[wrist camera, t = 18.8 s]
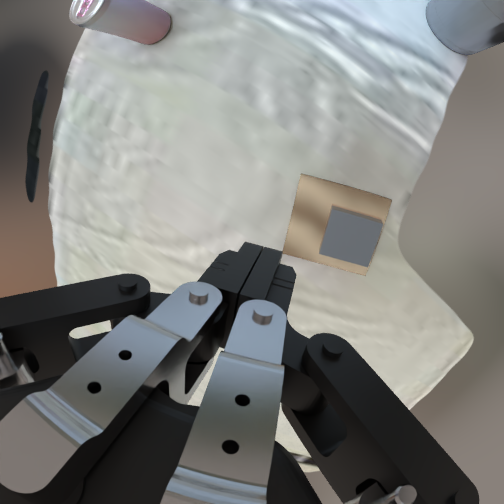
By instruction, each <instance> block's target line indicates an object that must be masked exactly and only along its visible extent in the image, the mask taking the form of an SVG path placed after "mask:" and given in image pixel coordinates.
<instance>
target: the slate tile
mask: <svg viewBox="0 0 504 504" xmlns="http://www.w3.org/2000/svg"><path fill="white" fill-rule="evenodd" d="M382 227H383V222H382V221H381V219H380V218H378V217H374V216H371V215H368V214H365V213H361V212H358V211H354V210H351V209H348V208H344V207H341V206H337V205H334V204H332V205H331V209H330V212H329V216H328V219H327V223H326V226H325V230H324V233H323V237H322V240H321V244H320V248H319V254H321V255H325V256H328V257H332V258H336V259H339V260H343V261H346V262H350V263H354V264H357V265H361V266H364V267H368V266H369V263H370V261H371V258H372V255H373V253H374V250H375V247H376V244H377V242H378V239H379V236H380V233H381V230H382Z"/></svg>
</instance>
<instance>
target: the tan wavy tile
mask: <svg viewBox="0 0 504 504" xmlns="http://www.w3.org/2000/svg"><path fill="white" fill-rule="evenodd" d="M391 202H392V200H391V199H388V198H385V197H382V196H379V195H376V194H372V193H369V192H366V191H362V190H359V189H356V188H352V187H349V186H345V185H342V184H338V183H335V182H331V181H327V180H324V179H320V178H316V177H312V176H308V175H304V174H301V176H300V180H299V184H298V189H297V193H296V198H295V202H294V206H293V210H292V215H291V219H290V223H289V227H288V231H287V236H286V240H285V244H284V248H283V254H287V255H290V256H294V257H298V258H302V259H305V260H309V261H313V262H316V263H320V264H324V265H327V266H331V267H335V268H338V269H342V270H346V271H349V272H353V273H357V274H360V275H364V276H366V273H367V271H368V268H369V266H368V267H364V266H361V265H357V264H354V263H350V262H346V261H343V260H339V259H336V258H332V257H328V256H325V255H321V254H319V248H320V244H321V240H322V237H323V233H324V230H325V226H326V223H327V219H328V216H329V212H330V209H331V205H332V204H334V205H337V206H341V207H344V208H348V209H351V210H354V211H358V212H361V213H365V214H368V215H371V216H374V217H378V218H380V219H381V221H382V222H383V226H384V223H385V220H386V217H387V214H388V211H389V208H390V205H391ZM382 229H383V227H382ZM381 232H382V230H381ZM380 235H381V233H380ZM379 238H380V236H379ZM378 241H379V239H378ZM377 244H378V242H377ZM377 244H376V246H377ZM375 249H376V247H375ZM374 252H375V250H374ZM373 255H374V253H373ZM373 255H372V257H373ZM371 260H372V258H371ZM370 263H371V261H370ZM370 263H369V265H370Z"/></svg>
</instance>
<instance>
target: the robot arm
mask: <svg viewBox="0 0 504 504" xmlns="http://www.w3.org/2000/svg"><path fill="white" fill-rule="evenodd" d="M426 17H427V21H428V23H429V26H430V28H431V29H432V31H433V33H434V34H435V35H436V37H437V38H438V39H439V40H440V41H441V42H442V43H443V44H444V45H446V46H447V47H448V48H450V49H452V50H453V51H455V52H458V53H460V54H465V55H471V54H475V53H478V52H480V51H482V50H485V49H487V48H490V47H493V46H495V45H497V44H500V43H503V42H504V0H431V1H430V2H429V3H428V5H427V8H426ZM282 253H283V252H282V251H278V250H275V249H271V248H267V247H264V249H263V246H259V245H256V244H252V243H248V242H245V243H244V244H243V245H242V247H241V248H240V250H239V251H238V252H235V251H231V250H228V251H226V252H223V253H221V254H219V255H218V257H217V258H216V259H215V260H214V262H213V263H212V264H211V265H210V267H209V268H208V269H207V270H206V271H205V272H204V274H203V275H202V276H201V277H200V279H199V280H198V281H197V282H188V283H185V284H183V285H181V286H179V287H178V288H177V289H176V290H175V291H174V292H173V293H172V294H165V293H156V292H150V283H149V281H148V280H147V279H146V278H144V277H142V276H140V275H136V274H120V275H115V276H110V277H105V278H100V279H95V280H89V281H84V282H79V283H74V284H69V285H64V286H59V287H54V288H49V289H44V290H38V291H33V292H29V293H23V294H18V295H13V296H9V297H4V298H0V504H322V503H321V501H320V499H319V498H318V496H317V494H316V493H315V491H314V489H313V488H312V486H311V484H310V483H309V481H308V479H307V478H306V476H305V474H304V472H303V471H302V469H301V467H300V466H299V464H298V462H297V461H296V460H295V459H294V457H293V456H292V455H291V454H290V453H289V452H288V451H287V450H286V449H285V448H284V447H283V446H282V445H280V444H279V443H278V442H277V441H275V435H276V429H277V422H278V415H279V408H280V402H281V403H282V404H281V406H282V411H283V413H284V414H285V416H286V418H287V419H288V421H289V423H290V424H291V426H292V427H293V429H294V431H295V432H296V434H297V435H298V437H299V438H300V440H301V442H302V443H303V445H304V446H305V448H306V449H307V451H308V452H309V454H310V455H311V457H312V458H313V460H314V462H315V463H316V465H317V466H318V468H319V469H320V471H321V472H322V474H323V475H324V476H325V478H326V479H327V481H328V482H329V484H330V485H331V486H332V488H333V490H334V491H335V492H336V494H337V495H338V497H339V498H340V499H341V501H342V502H343V504H479V495H478V491H477V489H476V487H475V485H474V484H473V483H472V482H471V481H470V479H469V478H468V477H467V476H466V475H465V474H464V473H463V471H462V470H461V469H460V468H459V467H458V466H457V464H456V463H455V462H454V461H453V460H452V459H451V457H450V456H449V455H448V454H447V453H446V452H445V451H444V449H443V448H442V447H441V446H440V445H439V444H438V443H437V441H436V440H435V439H434V438H433V437H432V436H431V435H430V433H428V431H427V430H426V429H425V428H424V427H423V425H422V424H421V423H420V422H419V421H418V420H417V419H416V417H415V416H414V415H413V414H412V413H411V412H410V411H409V410H408V408H407V407H406V406H405V405H404V404H403V403H402V402H401V401H400V399H399V398H398V397H397V396H396V395H395V394H394V393H393V392H392V390H391V389H390V388H389V387H388V386H387V385H386V384H385V383H384V381H383V380H382V379H381V378H380V377H379V376H378V375H377V374H376V372H375V371H374V370H373V369H372V368H371V367H370V366H369V365H368V364H367V362H366V361H365V360H364V359H363V358H362V357H361V356H360V355H359V354H358V352H357V351H356V350H355V349H354V348H353V347H352V346H351V345H350V344H349V343H348V342H347V341H346V340H345V339H343V338H341V337H339V336H337V335H334V334H329V333H320V334H316V335H314V336H312V337H311V338H310V339H309V338H307V337H305V336H303V335H301V334H299V333H298V332H297V331H295V330H294V329H293V328H292V327H291V325H290V324H289V322H288V320H287V312H288V308H289V304H290V300H291V296H292V292H293V287H294V283H295V279H296V273H295V271H294V269H293V267H290V266H286V265H283V264H280V262H281V258H282ZM107 320H110V322H111V329H112V330H111V331H109V332H105V333H100V334H96V335H92V336H88V337H84V338H79V339H75V338H72V337H70V336H69V333H70V332H71V331H72V330H73V329H75V328H77V327H82V326H86V325H90V324H95V323H99V322H103V321H107ZM219 347H221V348H224V351H221V352H220V354H219V356H218V359H217V362H216V364H215V367H214V370H213V373H212V375H211V378H210V381H209V383H208V386H207V389H206V391H205V394H204V397H203V399H202V402H201V405H200V407H199V406H192V405H187V404H188V402H189V400H190V398H191V397H192V395H193V394H194V392H195V391H196V389H197V388H198V386H199V384H200V383H201V381H202V380H203V378H204V377H205V375H206V373H207V372H208V370H209V369H210V367H211V365H212V364H213V360H214V356H215V354H216V352H217V350H218V348H219Z"/></svg>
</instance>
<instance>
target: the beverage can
mask: <svg viewBox="0 0 504 504" xmlns="http://www.w3.org/2000/svg"><path fill="white" fill-rule="evenodd" d="M69 16H70V20H71V22H72V23H74V24H77V25H78V26H80V27H83V28H88V29H92V30H97V31H101V32H105V33H108V34H112V35H116V36H119V37H123V38H126V39H130V40H133V41H136V42H139V43H143V44H153V43H155V42H157V41H159V40H161V39H162V38H163V37H164V36H165V35H166V34H167V32H168V31H169V28H170V24H171V21H170V16H169V14H168V13H167V12H165V11H164V10H162V9H160V8H158V7H156V6H154V5H153V4H151V3H149V2H147V1H145V0H74V1H73V3H72V5H71V8H70V13H69Z"/></svg>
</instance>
